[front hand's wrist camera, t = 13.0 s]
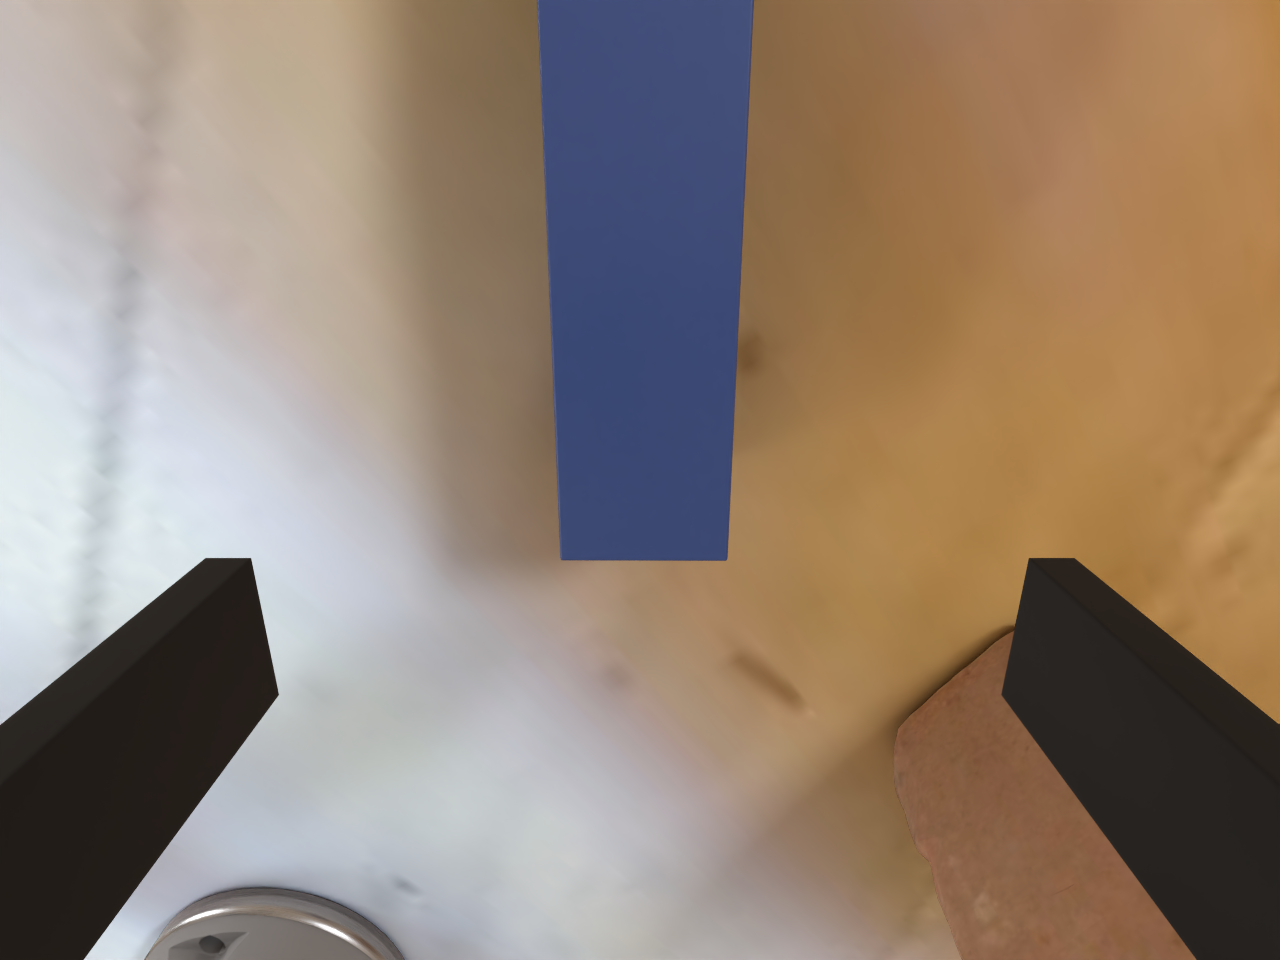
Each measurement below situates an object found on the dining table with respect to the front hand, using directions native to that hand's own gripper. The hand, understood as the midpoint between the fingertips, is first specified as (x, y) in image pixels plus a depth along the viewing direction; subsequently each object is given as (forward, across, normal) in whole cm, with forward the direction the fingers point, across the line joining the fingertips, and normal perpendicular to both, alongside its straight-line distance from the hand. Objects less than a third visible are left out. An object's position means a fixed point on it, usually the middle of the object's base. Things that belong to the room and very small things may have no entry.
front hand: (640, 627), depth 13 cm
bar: (+20, 0, -10) cm, 22 cm away
